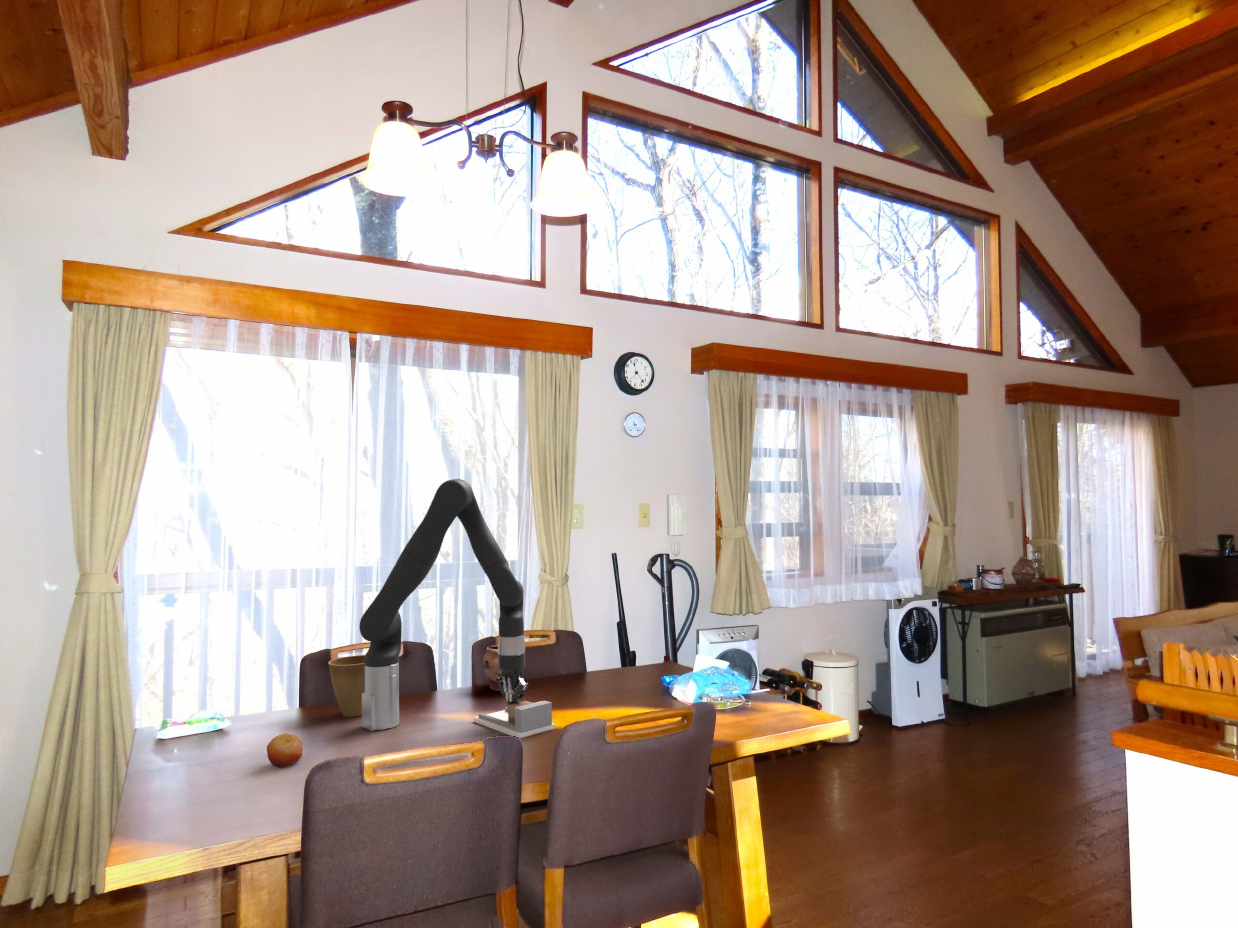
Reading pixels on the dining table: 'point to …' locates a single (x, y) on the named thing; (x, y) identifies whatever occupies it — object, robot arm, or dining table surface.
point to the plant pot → (348, 683)
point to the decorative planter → (492, 666)
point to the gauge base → (505, 730)
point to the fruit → (284, 750)
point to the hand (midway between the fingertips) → (512, 713)
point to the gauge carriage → (512, 710)
